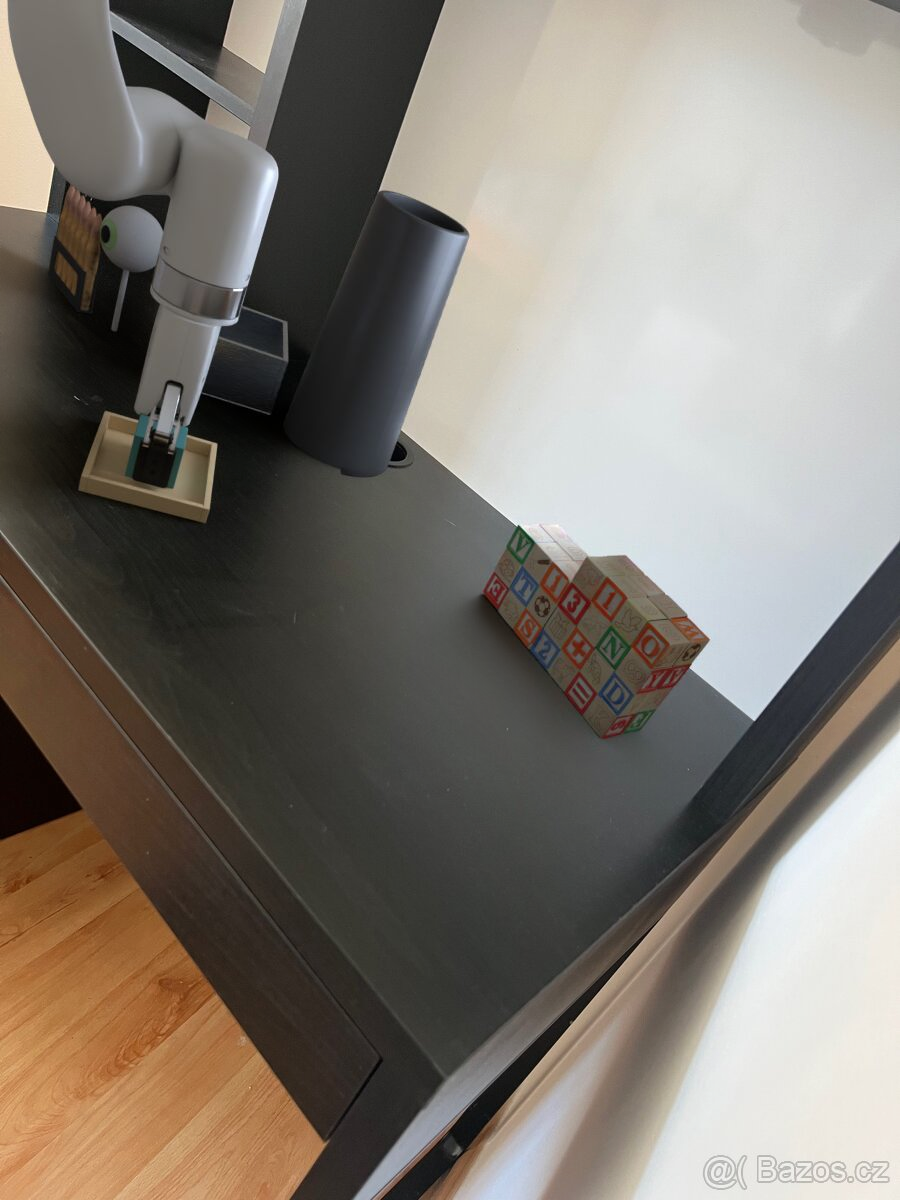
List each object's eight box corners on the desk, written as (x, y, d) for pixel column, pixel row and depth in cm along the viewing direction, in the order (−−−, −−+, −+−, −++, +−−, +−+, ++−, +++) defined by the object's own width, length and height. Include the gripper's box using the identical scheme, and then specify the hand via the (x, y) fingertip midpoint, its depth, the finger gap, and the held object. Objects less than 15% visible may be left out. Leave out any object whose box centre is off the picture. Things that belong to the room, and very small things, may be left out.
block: (124, 476, 80) (134, 434, 77) (130, 453, 83) (140, 413, 81) (173, 489, 81) (184, 449, 79) (177, 466, 85) (188, 427, 83)
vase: (403, 458, 110) (498, 239, 95) (359, 489, 98) (459, 245, 83) (315, 407, 111) (395, 183, 96) (260, 431, 99) (342, 181, 84)
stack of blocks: (479, 592, 91) (530, 498, 84) (520, 590, 95) (572, 500, 89) (601, 740, 79) (672, 643, 72) (643, 731, 83) (713, 638, 77)
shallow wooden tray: (77, 495, 75) (81, 475, 74) (101, 428, 86) (105, 410, 85) (204, 527, 79) (209, 509, 78) (212, 460, 90) (217, 443, 89)
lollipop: (71, 314, 103) (94, 189, 96) (125, 317, 109) (150, 200, 101) (102, 343, 100) (127, 217, 93) (155, 345, 106) (183, 227, 98)
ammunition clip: (47, 273, 110) (62, 179, 103) (62, 275, 111) (77, 182, 105) (77, 312, 104) (94, 215, 98) (92, 314, 106) (110, 218, 99)
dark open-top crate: (156, 385, 98) (172, 322, 94) (168, 342, 108) (182, 284, 104) (269, 419, 103) (288, 361, 99) (269, 376, 113) (287, 321, 109)
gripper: (164, 244, 78) (125, 415, 87) (141, 307, 65) (97, 502, 74) (245, 274, 81) (198, 437, 90) (238, 340, 67) (185, 524, 77)
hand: (153, 464), depth 82 cm, fingers open, 5 cm apart
